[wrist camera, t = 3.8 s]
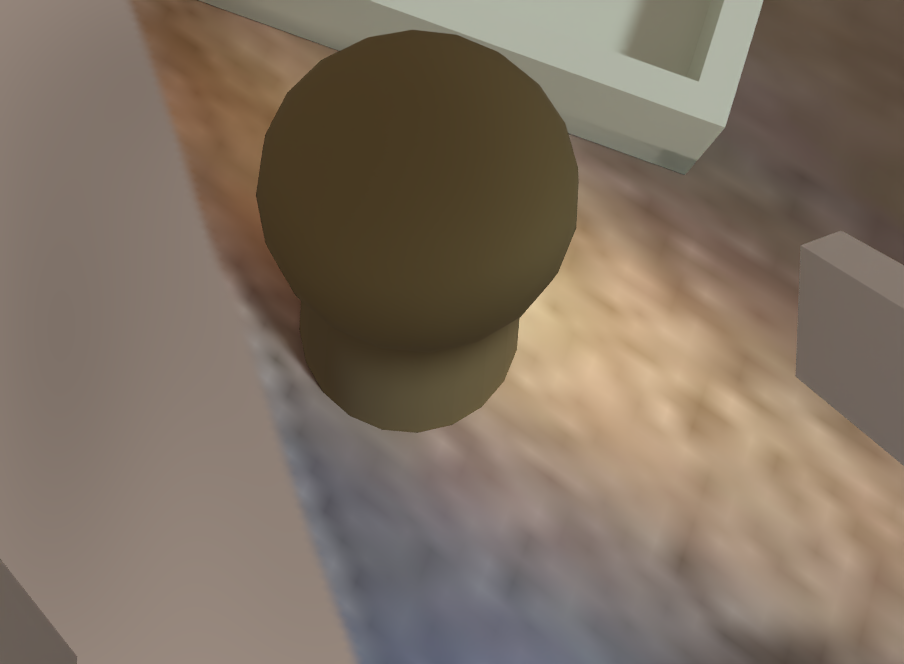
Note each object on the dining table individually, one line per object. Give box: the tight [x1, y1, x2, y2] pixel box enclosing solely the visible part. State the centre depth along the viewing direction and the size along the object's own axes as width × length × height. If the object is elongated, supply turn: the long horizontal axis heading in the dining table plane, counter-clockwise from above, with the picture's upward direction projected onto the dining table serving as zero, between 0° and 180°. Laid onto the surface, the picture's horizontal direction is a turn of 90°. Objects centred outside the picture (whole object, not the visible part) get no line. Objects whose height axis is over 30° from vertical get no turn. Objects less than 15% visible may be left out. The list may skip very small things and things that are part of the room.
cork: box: [256, 30, 578, 433], centre depth 17 cm, size 6×6×11 cm
